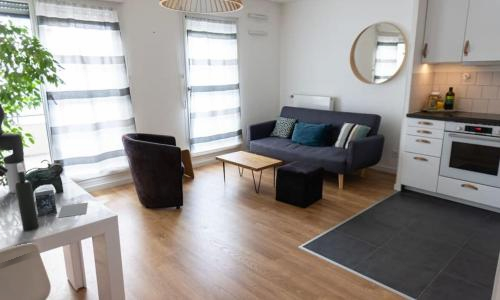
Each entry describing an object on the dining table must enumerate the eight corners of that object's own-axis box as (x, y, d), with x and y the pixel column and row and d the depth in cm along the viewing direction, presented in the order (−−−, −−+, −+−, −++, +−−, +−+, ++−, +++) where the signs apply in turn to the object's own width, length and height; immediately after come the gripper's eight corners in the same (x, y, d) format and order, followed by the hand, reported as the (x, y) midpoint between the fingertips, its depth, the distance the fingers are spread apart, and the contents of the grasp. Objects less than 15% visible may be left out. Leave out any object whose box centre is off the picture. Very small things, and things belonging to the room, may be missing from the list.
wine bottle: (37, 223, 151) (26, 161, 143) (39, 228, 147) (28, 164, 139) (22, 227, 147) (10, 163, 139) (24, 232, 143) (12, 166, 135)
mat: (62, 206, 169) (62, 205, 169) (87, 202, 173) (87, 202, 173) (57, 217, 157) (57, 217, 156) (85, 213, 161) (85, 213, 161)
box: (38, 217, 157) (34, 196, 155) (38, 212, 162) (34, 192, 159) (57, 213, 162) (54, 192, 159) (56, 208, 166) (53, 189, 163)
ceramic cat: (64, 189, 191) (59, 156, 186) (67, 192, 187) (63, 158, 182) (23, 198, 177) (17, 163, 172) (27, 202, 173) (20, 166, 168)
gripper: (-34, 147, 137) (6, 172, 145) (-21, 140, 150) (15, 163, 158) (-47, 161, 137) (-6, 184, 144) (-33, 152, 150) (4, 174, 157)
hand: (5, 173), depth 151 cm, fingers open, 3 cm apart
